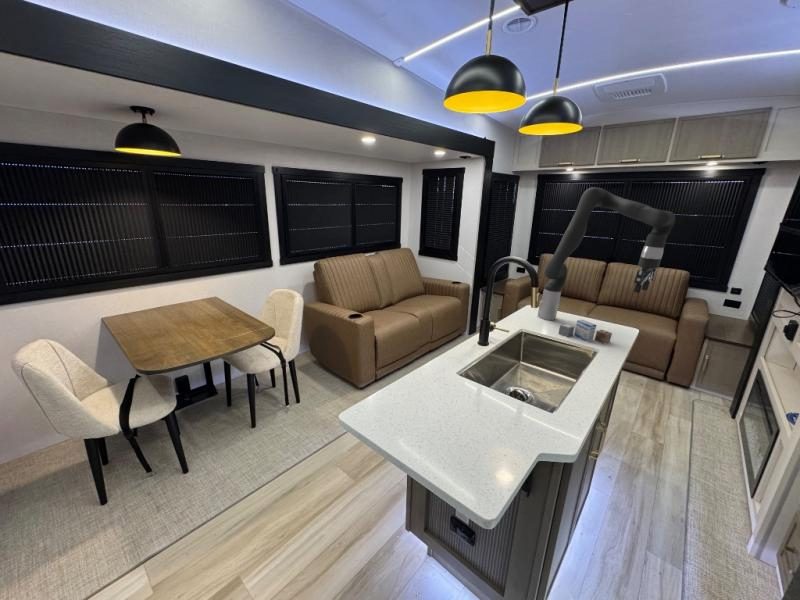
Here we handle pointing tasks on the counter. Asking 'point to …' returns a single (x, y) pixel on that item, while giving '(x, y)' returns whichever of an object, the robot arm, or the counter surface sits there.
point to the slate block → (566, 330)
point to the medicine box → (584, 330)
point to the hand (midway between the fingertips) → (640, 291)
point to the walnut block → (603, 336)
